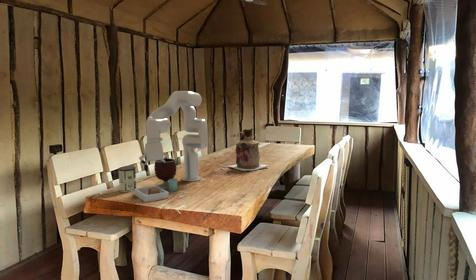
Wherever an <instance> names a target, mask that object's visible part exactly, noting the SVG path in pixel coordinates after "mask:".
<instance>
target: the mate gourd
mask: <svg viewBox="0 0 476 280" xmlns="http://www.w3.org/2000/svg"><path fill="white" fill-rule="evenodd" d="M161 162H162V161H161V160H156V161H154V174H155V176H156V178H157V179H158V180H161V181H163V182H162V183H158V184H156V185H155V186H159V187H160V188H163V189H164V190H165V189H166V188H167V189H169V179H172V178H175V176H176V175H177V161H176V159H175V158H169V157H168V158H167V160H166V161H165V168H164V170H163V169H161Z"/></svg>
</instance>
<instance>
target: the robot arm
mask: <svg viewBox="0 0 476 280" xmlns="http://www.w3.org/2000/svg"><path fill="white" fill-rule="evenodd" d="M202 101H203V98H202V96H201V94H200V93H198V92H194V91H190V90H176V91H173V92H172V93H171V94H170V95H169V98H168V99H167V100H166V102H165V104H163V105H162V106H161V105H160V106H159V107H158V108H156V109H154V110H153V111H151V113H150V114H149V115H148V117H147V119H146V121H145V126H146V127H145V128H146V143H145V145H144V154H142V155H141V156H139V158H138V159H139V160H140V163H142V164H143V169H144V172H147V173H148V172H149V165H148V163H149V162H155V161H156V160H161V161H162V162H161V169H163V170H164V168H165V161H166V160H167V158H169V153H165V152H164V148H163V144H162V143H163V142H162V141H163V140H164V139H163V138H162V137H161V132H165V131H168V130H169V129H171V125H172V124H171V121H170V119H168V117H171V116H173V115H175V114H176V113H178V111H179V109H180V108H181V109H182V112H183V127H184V131H185V132H186V133H188V134H185V135H184V136H183V137H182V141H181V142H182V143H181V144H182V147H183V148H182V149H183V164H184V166H183V169H184V172H183V174H184V176H183V177H182V179H181V180H182V181H184V182H198V181H200V180H201V176H199V153H198V151H197V149H198V150H199V149H200V150H205V149H206V148H207V147H208V144H209V142H208V139H209V137H208V134H209V133H208V122H207V121H206V120H205V119H204V118H197V110H196V108H195V107H199V106H200V105H202ZM190 133H192V134H190ZM193 133H195V134H193ZM196 133H198V134H196Z"/></svg>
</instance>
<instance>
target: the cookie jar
mask: <svg viewBox="0 0 476 280" xmlns="http://www.w3.org/2000/svg"><path fill="white" fill-rule="evenodd" d="M253 135H254V134H253V128H249V129H247V128H246V129H245V128H244V129H243V130H242V131H240V132H239V137H240V140H238V141H237V142H236V143H235V156H236V159H235V163H236V164H234V165H227V167H228V168H232V169H235V170H240V171H243V172H245V171H250V172H253V171H256V170H261V169H268V167H269V165H268V164H260V155H261V154H260V151H259V145H260V141H257V140H254V139H253V138H252V137H253Z"/></svg>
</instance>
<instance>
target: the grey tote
mask: <svg viewBox="0 0 476 280" xmlns="http://www.w3.org/2000/svg"><path fill="white" fill-rule="evenodd" d="M153 187H157V188H159V189H160V193H157V194H151V195H148V188H153ZM134 190H135V191H134V195H135V197H137V198H139V199H140V200H141V201H143V202H144V203H148V202H153V201H160V200H165V199H169V198H170V197H169V196H170V195H169V193H170V191H167V190H165V189H162V188H160V187H159V186H156V185H152V186H144V187H138V188H137V187H136V189H134Z"/></svg>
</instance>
